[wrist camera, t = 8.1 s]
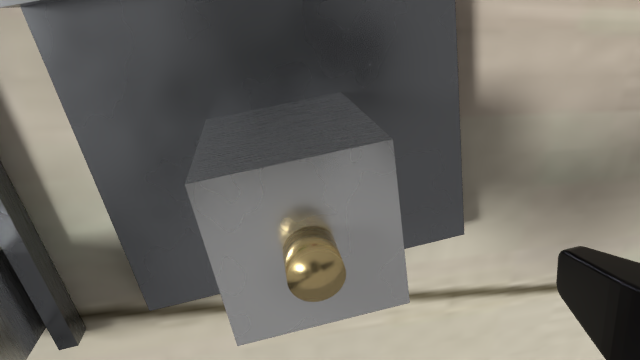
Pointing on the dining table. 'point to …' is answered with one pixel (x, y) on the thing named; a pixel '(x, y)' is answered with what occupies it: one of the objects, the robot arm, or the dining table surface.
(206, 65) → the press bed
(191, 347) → the dining table surface
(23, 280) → the ram track
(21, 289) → the handle
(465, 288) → the dining table surface
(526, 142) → the dining table surface
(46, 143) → the dining table surface
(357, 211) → the block
